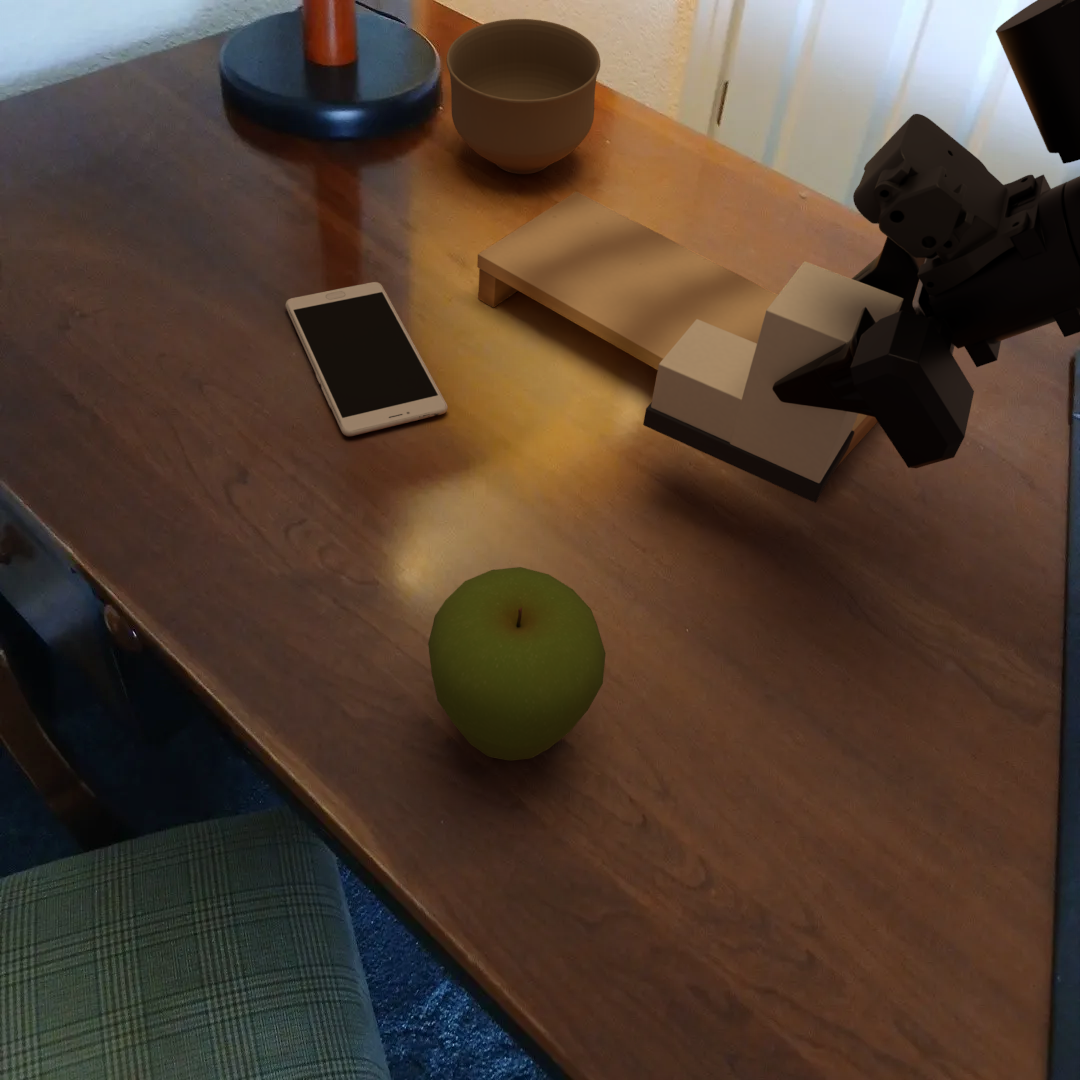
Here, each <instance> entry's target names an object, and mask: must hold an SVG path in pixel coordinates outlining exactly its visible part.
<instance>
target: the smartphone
mask: <svg viewBox="0 0 1080 1080" xmlns="http://www.w3.org/2000/svg"><path fill="white" fill-rule="evenodd" d="M285 309H286V311H287V314H288V316H289V318H290V321H291V322H292V325H293V327H294V329H295V332H296V333H297V335H298V338H299V340H300V342H301V344H302V345H301V346H303V349H304V351H305V353H306V355H307V358H308V360H309V362H310V365H311V367H312V369H313V371H314V374H315V377H316V379H317V381H318V384H319V385H320V388H321V390H322V393H323V395H324V397H325V399H326V402H327V404H328V406H329V408H330V409H331V411H332V414H333V416H334V419H335V421H336V422H337V425H338V427H339V429H340V432H341V433H342V434H343V435H344V436H346V437H354V436H358V435H363V434H366V433H370V432H371V433H372V432H376V431H379V430H383V429H387V428H391V427H395V426H399V425H403V424H408V423H412V422H415V421H418V420H423V419H427V418H432V417H436V416H440V415H443V414H445V413H447V411H448V408H449V407H448V404H447V402H446V400H445V398H444V396H443V394H442V392H441V391H440V389H439V387H438V386H437V383H436V382H435V380H434V378H433V376H432V375H431V372H430V371H429V368H428V367H427V365H426V363H425V362H424V360H423V358H422V356H421V354H420V353H419V350H418V348H417V347H416V345H415V343H414V342H413V340H412V338H411V336H410V334H409V332H408V330H407V328H406V326H405V325H404V323H403V321H402V319H401V317H400V316H399V313H398V312H397V310H396V308H395V306H394V305H393V303H392V301H391V299H390V297H389V295H388V294H387V292H386V290H385V288H384V286H383V285H382V283H380V282H377V281H372V282H367V283H362V284H357V285H351V286H346V287H341V288H337V289H331V290H327V291H321V292H316V293H311V294H305V295H301V296H295V297H291V298H288V299H287V300H286V302H285Z"/></svg>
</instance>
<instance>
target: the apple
mask: <svg viewBox="0 0 1080 1080" xmlns="http://www.w3.org/2000/svg"><path fill="white" fill-rule="evenodd" d="M427 647H428V654H429V655H428V656H429V663H430V670H431V676H432V681H433V686H434V690H435V694H436V700H437V702H438V703H439V705H440V706H441V708H442V709H443V710H444V712H445V714H446V715H447V716H448V718H449V720H450V721H451V722H452V724H453V725H454V726H455V727H456V729H457V730H458V731H459V732H460V733H461V735H462V736H463V737H464V738H465V740H466V741H467V742H468V743H469V744H470V745H471V746H472V747H474V748H475V749H476V750H478V751H480V752H481V753H482V754H484V755H485V756H487V757H490V758H494V759H499V760H504V761H510V762H511V761H518V760H528V759H533V758H535V757H536V756H538V755H540V754H542V753H543V752H545V751H548V750H550V749H551V747H553V746H554V745H555V744H557V743H558V742H560V740H562V739H563V738H564V737H566V735H568V734H569V733H570V732H571V731H572V730H573V729H574V727H575V726H576V725H577V724H578V723H579V722H580V720H581V719H582V718H583V717H584V716H585V715H586V714H587V712H588V711H589V709H591V706H592V704H593V703H594V700H595V698H596V696H597V695H598V694H599V691H600V689H601V688H602V686H603V684H604V673H605V665H606V664H605V663H606V650H605V647H604V644H603V641H602V637H601V633H600V630H599V627H598V624H597V620H596V619H595V616H594V613H593V610H592V608H591V607H590V606H589V605H588V603H586V602H585V601H584V600H583V598H582V597H581V596H580V595H579V594H578V593H577V592H576V591H575V590H574V589H573V588H572V587H570V586H568V585H567V584H565V583H564V582H562V581H561V580H559V579H557V578H556V577H554V576H553V575H551V574H549V573H545V572H541V571H537V570H533V569H530V568H527V567H522V566H516V567H508V568H499V569H491V570H487V571H486V572H484V573H481V574H478V575H476V576H474V577H471V578H469V579H466V580H465V581H463V582H462V583H461V584H460V585H459V586H458V587H457V588H456V589H455V590H454V591H453V592H452V593H451V594H450V595H449V596H448V597H447V598H446V599H445V600H444V602H443V603H442V604H441V606H440V608H438V611H437V612H436V613H435V615H434V619H433V623H432V626H431V630H430V635H429V638H428V643H427Z"/></svg>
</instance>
